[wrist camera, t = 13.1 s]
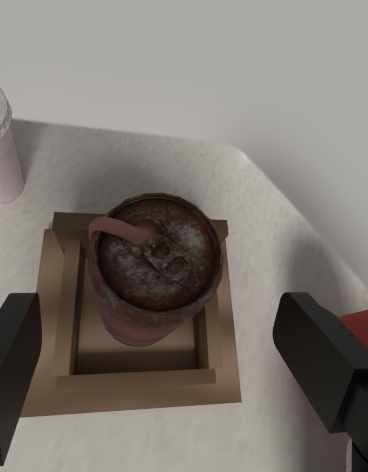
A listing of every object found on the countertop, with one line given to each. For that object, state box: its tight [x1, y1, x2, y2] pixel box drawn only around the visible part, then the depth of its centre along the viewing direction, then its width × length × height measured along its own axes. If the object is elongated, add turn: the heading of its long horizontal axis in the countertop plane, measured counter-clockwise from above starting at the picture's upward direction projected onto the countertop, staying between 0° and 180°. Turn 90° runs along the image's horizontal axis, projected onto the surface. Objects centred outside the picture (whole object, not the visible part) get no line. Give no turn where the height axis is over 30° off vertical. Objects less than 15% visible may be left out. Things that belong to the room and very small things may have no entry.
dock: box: [19, 212, 242, 418], centre depth 24 cm, size 14×16×7 cm
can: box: [87, 193, 224, 347], centre depth 20 cm, size 6×6×14 cm
